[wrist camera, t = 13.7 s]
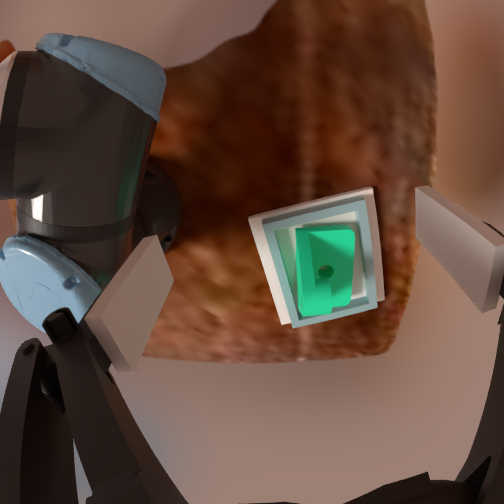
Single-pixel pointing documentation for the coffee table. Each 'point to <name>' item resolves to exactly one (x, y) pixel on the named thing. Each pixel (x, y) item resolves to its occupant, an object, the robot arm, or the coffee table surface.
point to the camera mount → (324, 280)
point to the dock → (284, 265)
